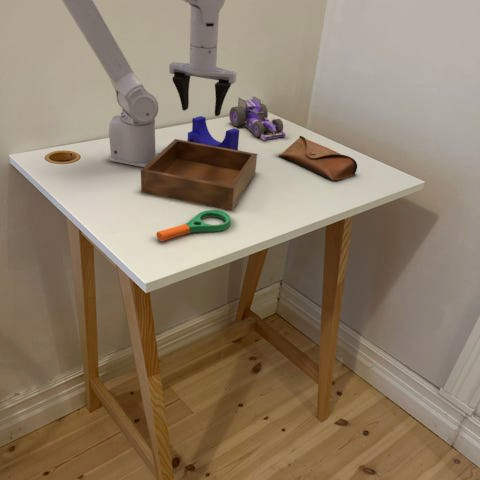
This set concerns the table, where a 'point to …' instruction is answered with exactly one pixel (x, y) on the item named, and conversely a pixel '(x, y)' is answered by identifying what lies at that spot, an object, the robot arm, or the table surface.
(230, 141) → the cable clip
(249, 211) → the table surface
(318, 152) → the sunglasses case
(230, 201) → the crate
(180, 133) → the table surface
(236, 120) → the toy race car
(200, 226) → the magnifying glass
